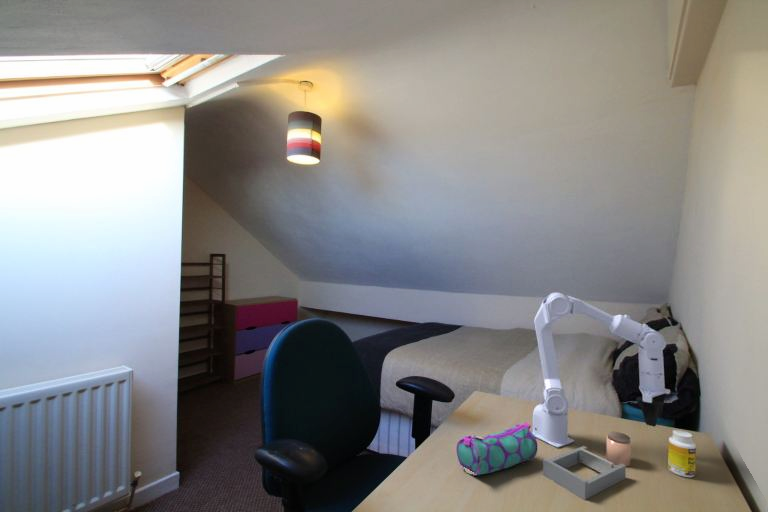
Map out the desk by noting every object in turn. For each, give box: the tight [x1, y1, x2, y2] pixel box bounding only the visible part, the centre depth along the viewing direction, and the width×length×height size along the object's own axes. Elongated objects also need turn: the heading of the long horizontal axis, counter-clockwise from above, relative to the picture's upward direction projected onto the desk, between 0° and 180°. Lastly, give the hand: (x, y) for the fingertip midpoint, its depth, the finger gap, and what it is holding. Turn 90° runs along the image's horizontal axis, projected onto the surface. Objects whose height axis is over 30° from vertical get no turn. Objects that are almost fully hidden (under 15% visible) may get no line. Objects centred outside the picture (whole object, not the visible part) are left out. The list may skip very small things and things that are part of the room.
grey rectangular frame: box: [542, 445, 627, 501], centre depth 96 cm, size 11×17×4 cm, turn 120°
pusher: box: [579, 448, 615, 474], centre depth 98 cm, size 8×1×3 cm, turn 30°
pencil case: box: [456, 422, 538, 476], centre depth 100 cm, size 21×9×10 cm, turn 116°
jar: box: [605, 431, 632, 468], centre depth 103 cm, size 6×6×7 cm
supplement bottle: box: [667, 429, 697, 478], centre depth 98 cm, size 6×6×10 cm
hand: (653, 420), depth 106 cm, fingers open, 7 cm apart
